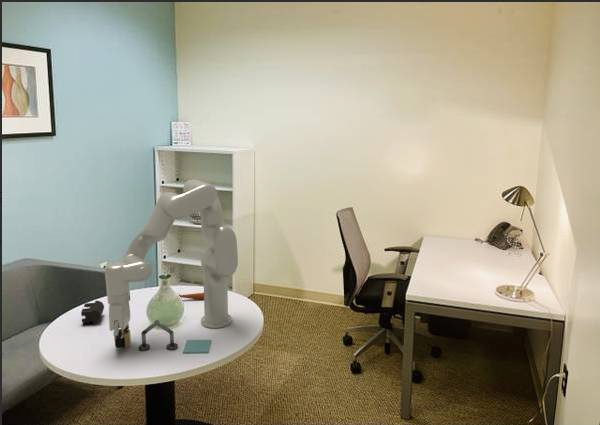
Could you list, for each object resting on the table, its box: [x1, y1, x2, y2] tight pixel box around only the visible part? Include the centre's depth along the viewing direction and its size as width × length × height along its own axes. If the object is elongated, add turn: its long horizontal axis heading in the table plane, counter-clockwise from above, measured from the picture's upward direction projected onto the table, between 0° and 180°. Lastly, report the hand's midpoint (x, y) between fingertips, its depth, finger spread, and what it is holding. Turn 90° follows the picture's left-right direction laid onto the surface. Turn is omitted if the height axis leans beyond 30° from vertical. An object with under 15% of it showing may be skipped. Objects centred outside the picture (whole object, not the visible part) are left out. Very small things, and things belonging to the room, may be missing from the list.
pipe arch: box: [137, 319, 179, 352], centre depth 173 cm, size 4×14×11 cm, turn 94°
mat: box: [182, 339, 212, 355], centre depth 175 cm, size 9×9×1 cm
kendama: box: [178, 292, 204, 301], centre depth 215 cm, size 6×6×20 cm
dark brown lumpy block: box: [80, 300, 105, 327], centre depth 194 cm, size 10×7×7 cm
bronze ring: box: [113, 328, 132, 349], centre depth 172 cm, size 5×5×5 cm
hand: (123, 342), depth 173 cm, fingers closed on bronze ring, 5 cm apart
